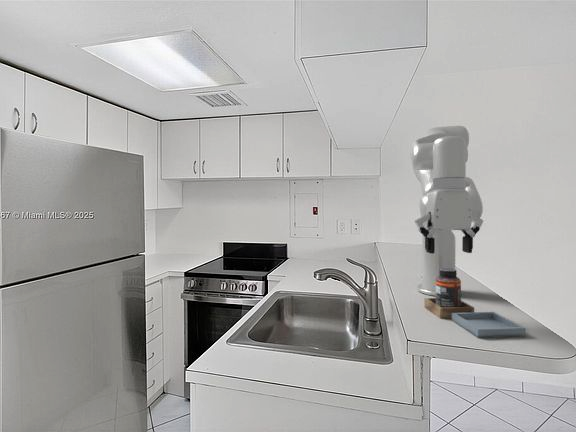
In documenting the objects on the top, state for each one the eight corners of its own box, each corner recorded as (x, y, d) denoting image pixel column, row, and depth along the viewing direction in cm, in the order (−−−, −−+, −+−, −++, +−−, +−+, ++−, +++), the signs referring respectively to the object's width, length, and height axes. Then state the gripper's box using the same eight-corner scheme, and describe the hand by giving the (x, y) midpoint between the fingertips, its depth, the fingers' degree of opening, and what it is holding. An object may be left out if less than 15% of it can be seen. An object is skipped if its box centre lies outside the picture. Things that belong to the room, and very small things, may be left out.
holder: (424, 307, 90) (424, 298, 90) (455, 306, 91) (455, 297, 90) (440, 318, 82) (440, 308, 82) (474, 317, 82) (474, 307, 82)
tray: (451, 320, 80) (451, 313, 80) (493, 319, 81) (493, 311, 81) (477, 337, 70) (478, 329, 70) (525, 336, 70) (525, 328, 70)
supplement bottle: (458, 309, 88) (458, 267, 88) (463, 317, 82) (463, 272, 82) (433, 307, 90) (434, 266, 89) (437, 315, 84) (437, 271, 84)
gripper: (473, 186, 89) (472, 250, 89) (409, 187, 88) (409, 251, 88) (491, 184, 81) (491, 254, 82) (422, 185, 80) (422, 255, 81)
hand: (448, 252), depth 85 cm, fingers open, 9 cm apart
